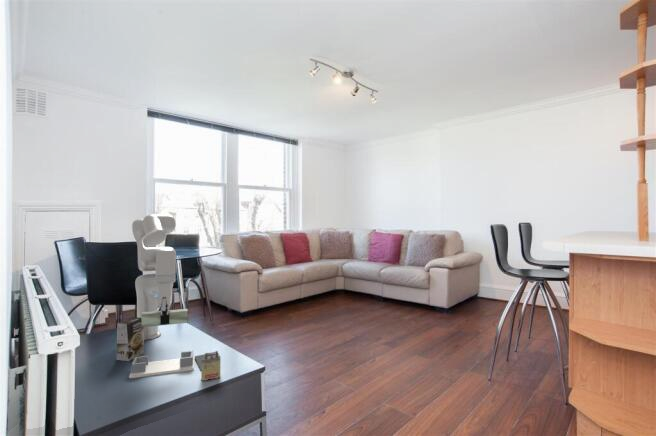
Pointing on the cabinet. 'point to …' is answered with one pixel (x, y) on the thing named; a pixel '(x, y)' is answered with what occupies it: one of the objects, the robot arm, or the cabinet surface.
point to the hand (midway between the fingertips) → (165, 322)
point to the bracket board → (162, 365)
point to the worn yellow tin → (210, 366)
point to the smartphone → (199, 361)
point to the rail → (155, 317)
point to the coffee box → (130, 339)
